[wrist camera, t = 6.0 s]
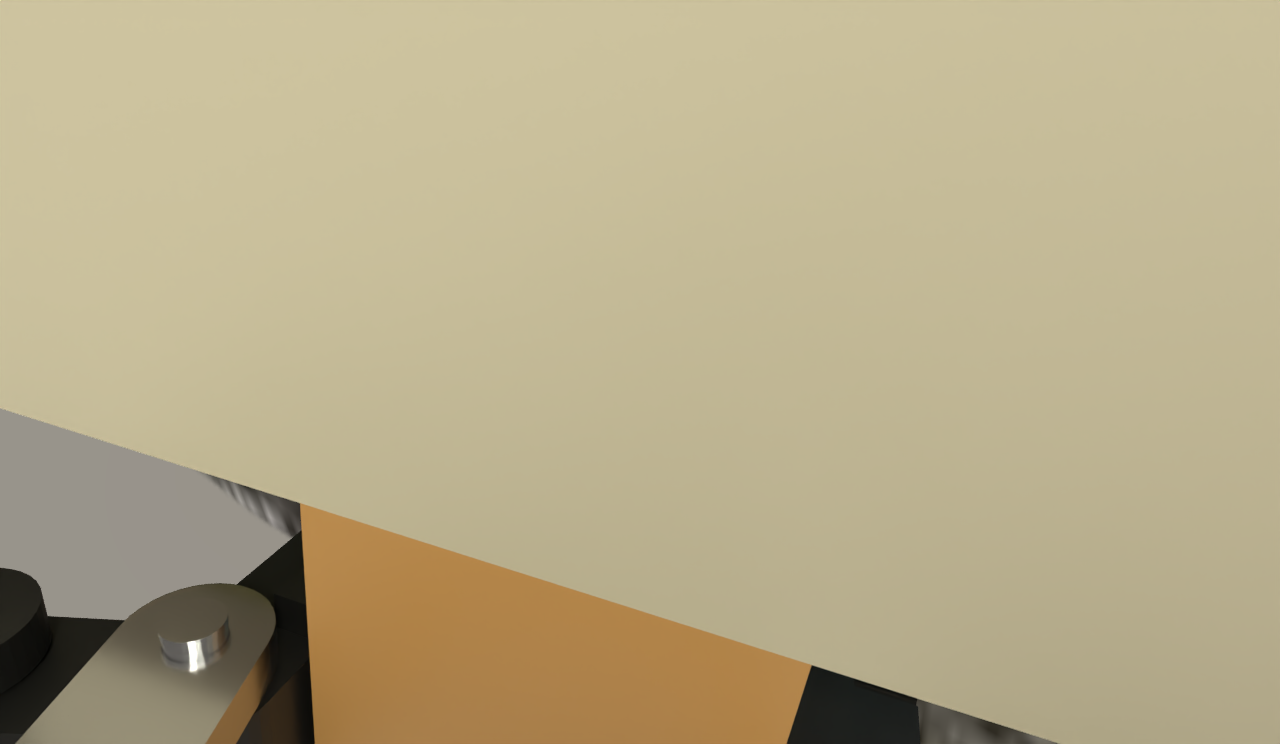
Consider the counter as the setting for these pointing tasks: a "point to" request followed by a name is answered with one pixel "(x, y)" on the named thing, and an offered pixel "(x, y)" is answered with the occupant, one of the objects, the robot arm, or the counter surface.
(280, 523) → the counter surface
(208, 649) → the robot arm
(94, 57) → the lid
